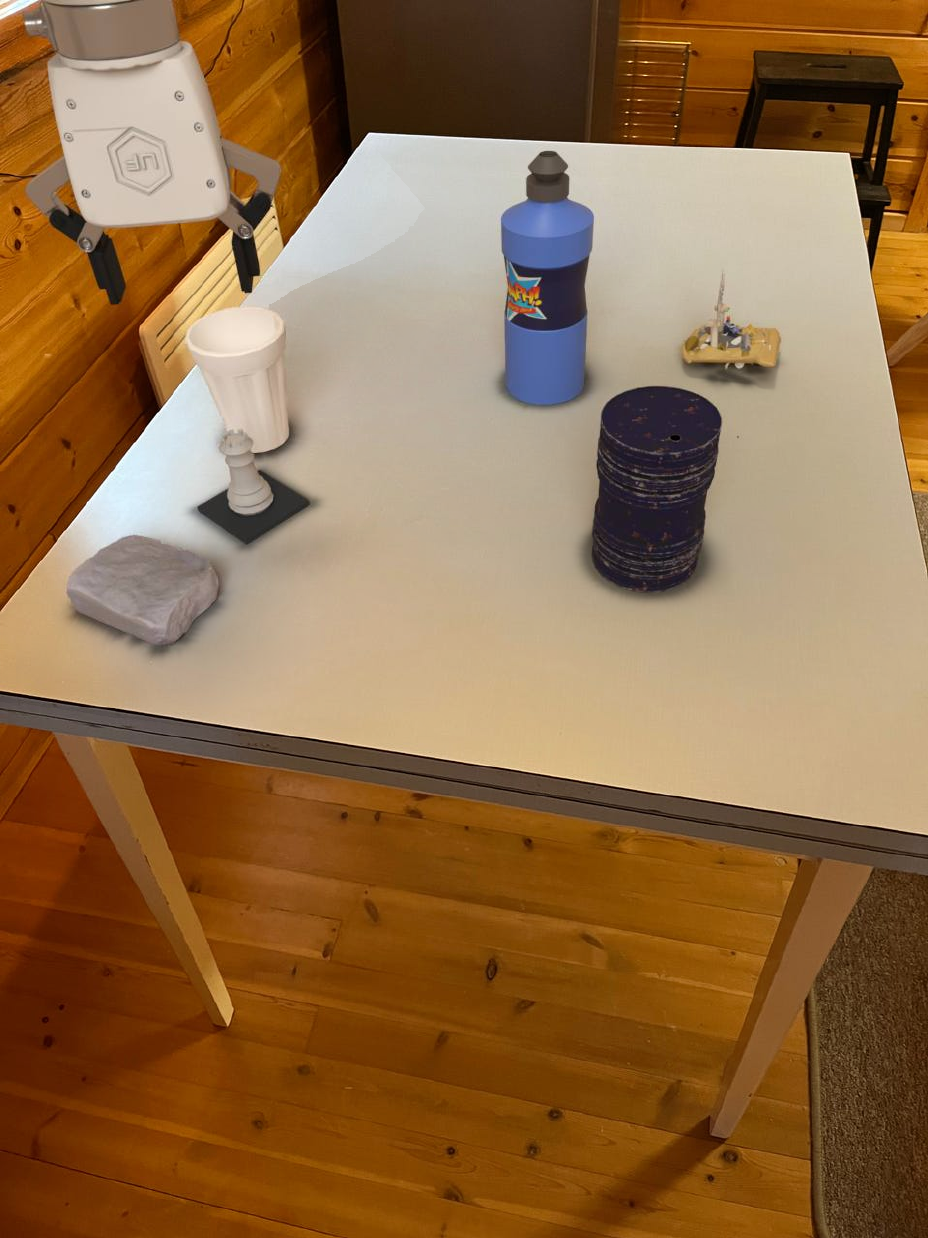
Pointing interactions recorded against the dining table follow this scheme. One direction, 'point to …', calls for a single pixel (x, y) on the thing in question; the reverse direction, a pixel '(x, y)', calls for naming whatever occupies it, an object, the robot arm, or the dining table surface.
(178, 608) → the stone block
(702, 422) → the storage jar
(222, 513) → the mat
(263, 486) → the rook chess piece
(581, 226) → the water bottle
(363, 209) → the dining table surface
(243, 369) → the cup
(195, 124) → the robot arm
